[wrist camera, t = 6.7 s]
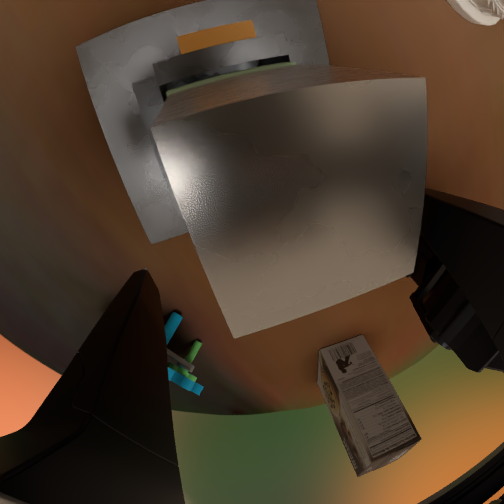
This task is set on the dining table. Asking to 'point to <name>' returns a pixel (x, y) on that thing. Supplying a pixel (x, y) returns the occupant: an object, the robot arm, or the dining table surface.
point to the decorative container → (479, 10)
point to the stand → (183, 79)
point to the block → (297, 184)
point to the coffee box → (364, 405)
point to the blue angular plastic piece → (183, 364)
